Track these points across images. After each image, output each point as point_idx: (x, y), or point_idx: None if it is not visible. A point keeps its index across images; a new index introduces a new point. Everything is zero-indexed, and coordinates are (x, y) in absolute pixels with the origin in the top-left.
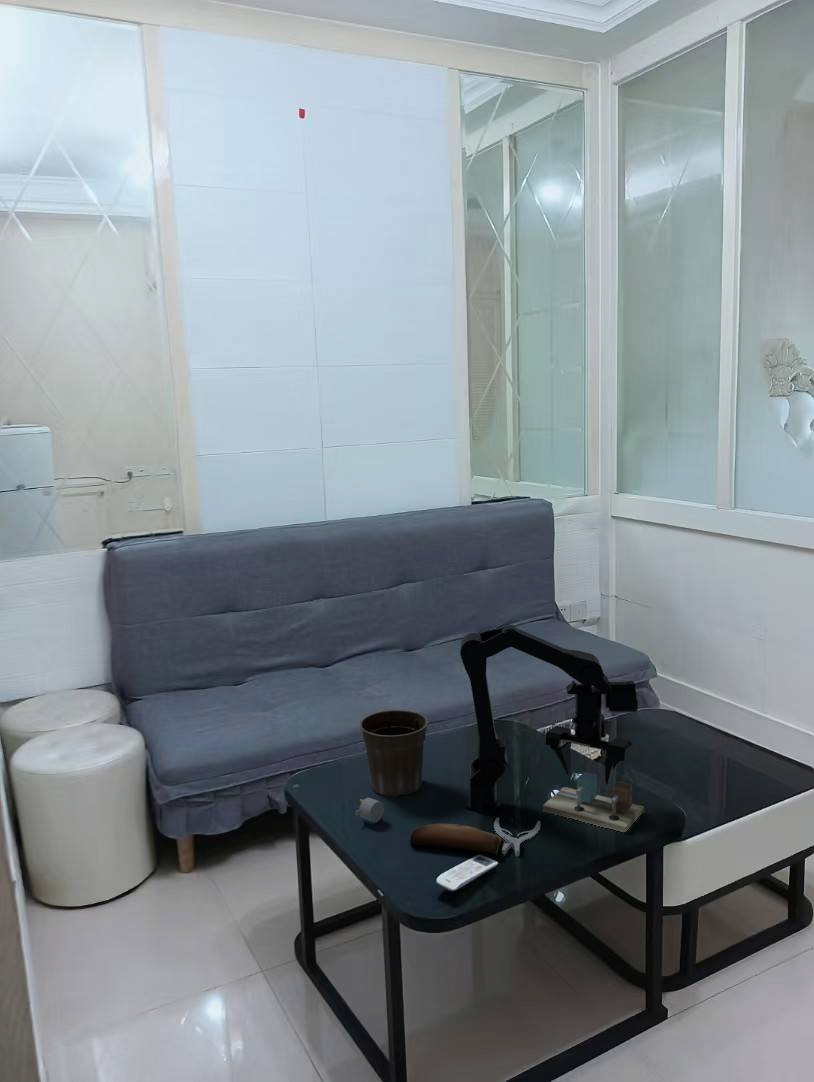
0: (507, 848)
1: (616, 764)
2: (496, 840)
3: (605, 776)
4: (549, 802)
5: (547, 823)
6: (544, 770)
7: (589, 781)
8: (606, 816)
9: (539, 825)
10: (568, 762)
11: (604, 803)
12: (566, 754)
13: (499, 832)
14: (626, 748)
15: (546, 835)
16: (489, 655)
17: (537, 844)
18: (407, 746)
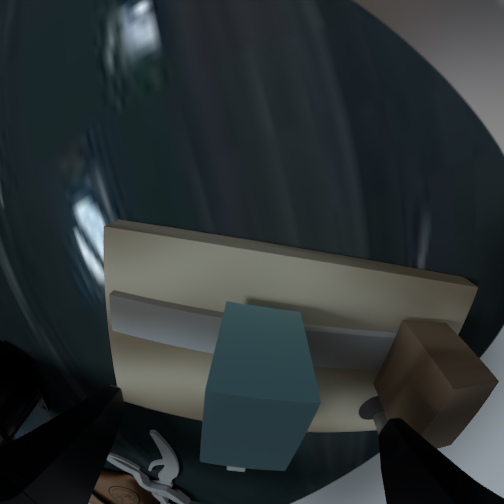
0: (165, 498)
1: (480, 495)
2: (144, 502)
3: (386, 489)
4: (125, 381)
5: (175, 431)
6: (22, 68)
7: (282, 468)
8: (351, 408)
9: (166, 448)
10: (85, 466)
11: (342, 352)
12: None
13: (116, 463)
14: None
15: (200, 464)
16: None
17: (200, 482)
18: None
